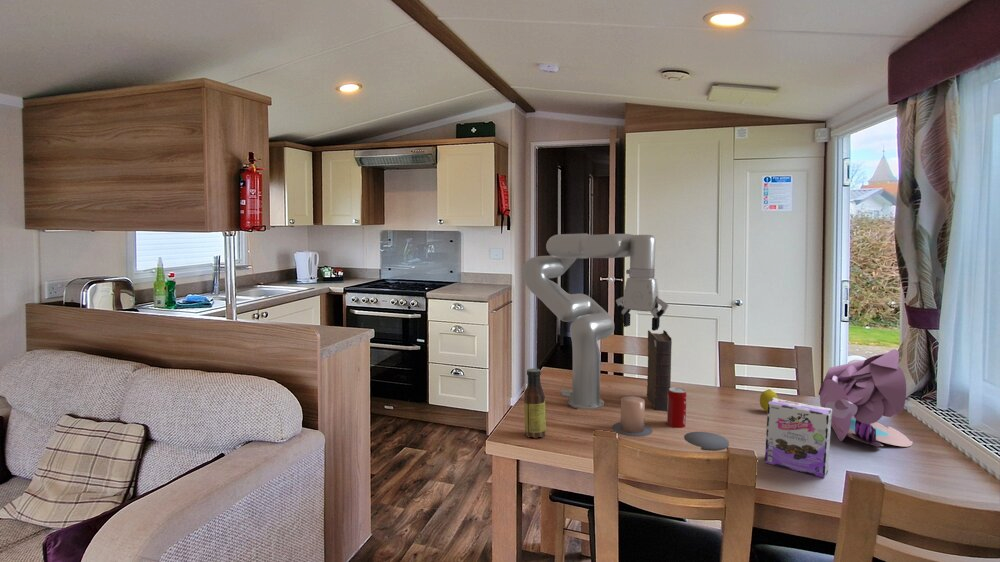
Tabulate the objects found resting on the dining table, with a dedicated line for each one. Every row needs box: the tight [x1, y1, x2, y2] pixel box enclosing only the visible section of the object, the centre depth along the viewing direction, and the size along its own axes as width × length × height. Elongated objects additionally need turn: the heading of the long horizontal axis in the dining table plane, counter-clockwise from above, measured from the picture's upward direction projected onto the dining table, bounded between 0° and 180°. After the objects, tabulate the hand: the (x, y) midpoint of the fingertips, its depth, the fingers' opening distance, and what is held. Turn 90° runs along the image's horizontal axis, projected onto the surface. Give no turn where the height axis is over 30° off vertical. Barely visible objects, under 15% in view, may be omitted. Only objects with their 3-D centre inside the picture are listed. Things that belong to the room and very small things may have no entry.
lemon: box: [759, 388, 779, 413], centre depth 176 cm, size 6×6×8 cm
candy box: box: [764, 398, 832, 478], centre depth 136 cm, size 14×6×16 cm, turn 50°
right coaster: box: [683, 431, 730, 451], centre depth 153 cm, size 12×12×1 cm
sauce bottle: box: [523, 368, 547, 439], centre depth 157 cm, size 6×6×20 cm
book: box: [646, 329, 673, 412], centre depth 184 cm, size 17×7×25 cm, turn 167°
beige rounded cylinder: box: [620, 395, 646, 433], centre depth 161 cm, size 7×7×9 cm
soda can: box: [666, 386, 687, 429], centre depth 164 cm, size 6×6×12 cm
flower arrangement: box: [818, 348, 913, 448], centre depth 156 cm, size 35×24×28 cm
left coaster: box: [611, 421, 654, 438], centre depth 161 cm, size 12×12×1 cm
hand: (640, 328), depth 167 cm, fingers open, 9 cm apart
